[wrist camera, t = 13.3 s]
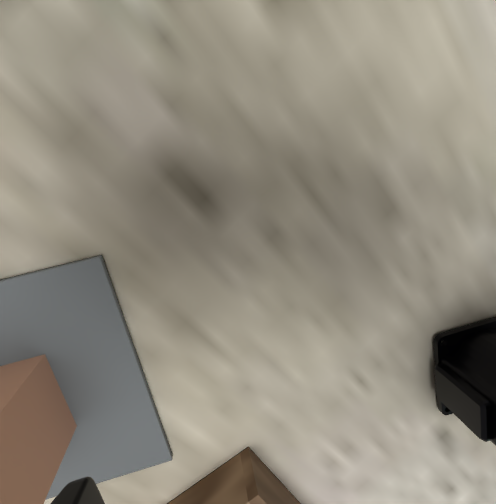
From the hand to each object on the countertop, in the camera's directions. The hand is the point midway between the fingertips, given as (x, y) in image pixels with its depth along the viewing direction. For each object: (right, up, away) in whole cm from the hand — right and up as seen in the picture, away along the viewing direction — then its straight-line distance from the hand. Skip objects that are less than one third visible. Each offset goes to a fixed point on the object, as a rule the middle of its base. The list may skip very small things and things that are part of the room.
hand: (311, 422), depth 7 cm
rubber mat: (-14, -5, +12) cm, 20 cm away
